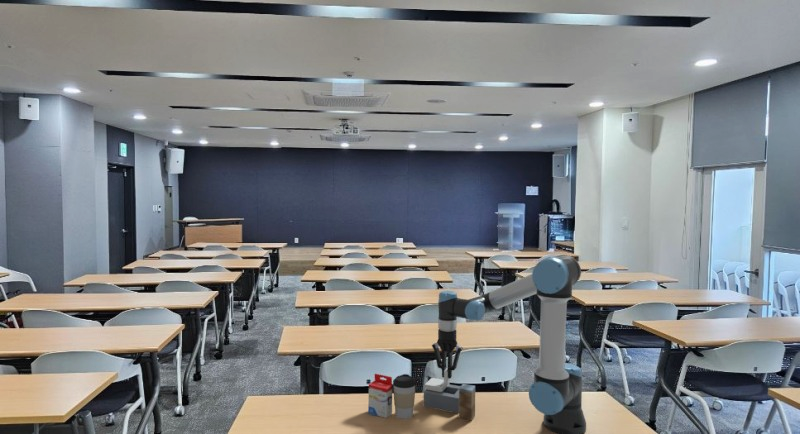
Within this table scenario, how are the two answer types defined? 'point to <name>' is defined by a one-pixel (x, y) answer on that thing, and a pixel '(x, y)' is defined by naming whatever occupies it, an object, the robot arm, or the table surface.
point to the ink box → (380, 396)
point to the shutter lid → (435, 385)
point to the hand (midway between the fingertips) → (446, 385)
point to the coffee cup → (404, 396)
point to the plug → (467, 402)
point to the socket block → (443, 399)
